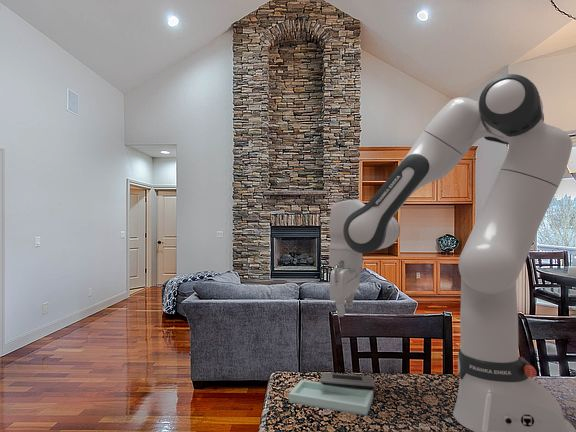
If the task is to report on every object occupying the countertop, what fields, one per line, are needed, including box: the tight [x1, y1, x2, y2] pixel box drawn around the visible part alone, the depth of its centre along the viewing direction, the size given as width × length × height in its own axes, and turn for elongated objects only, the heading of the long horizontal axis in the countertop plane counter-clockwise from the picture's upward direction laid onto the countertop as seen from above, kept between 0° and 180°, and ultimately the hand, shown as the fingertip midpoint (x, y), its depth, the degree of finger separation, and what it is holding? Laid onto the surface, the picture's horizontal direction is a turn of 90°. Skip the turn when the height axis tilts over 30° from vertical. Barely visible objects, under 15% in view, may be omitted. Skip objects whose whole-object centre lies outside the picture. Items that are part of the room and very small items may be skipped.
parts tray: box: [288, 379, 374, 417], centre depth 93 cm, size 18×9×2 cm, turn 69°
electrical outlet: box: [320, 372, 377, 390], centre depth 100 cm, size 13×10×2 cm
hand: (345, 311), depth 104 cm, fingers open, 8 cm apart
